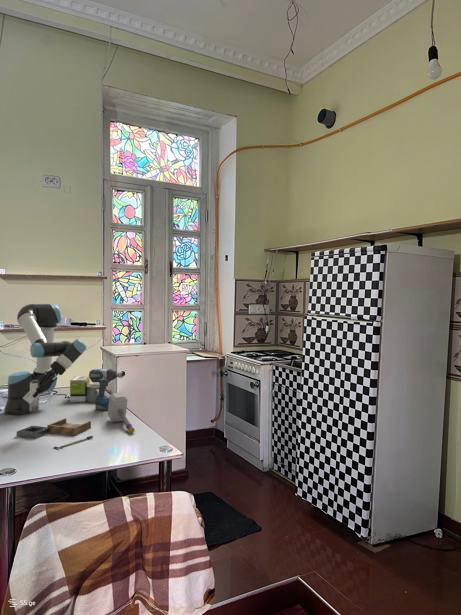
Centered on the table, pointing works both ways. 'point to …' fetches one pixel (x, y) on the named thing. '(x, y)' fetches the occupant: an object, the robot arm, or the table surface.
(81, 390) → the tea box
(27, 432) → the socket
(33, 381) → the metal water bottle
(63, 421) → the brown wooden tray
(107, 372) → the impact wrench
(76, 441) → the tan and black strip
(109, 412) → the hammer
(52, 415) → the table surface
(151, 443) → the table surface
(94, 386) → the grey box
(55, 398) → the table surface
